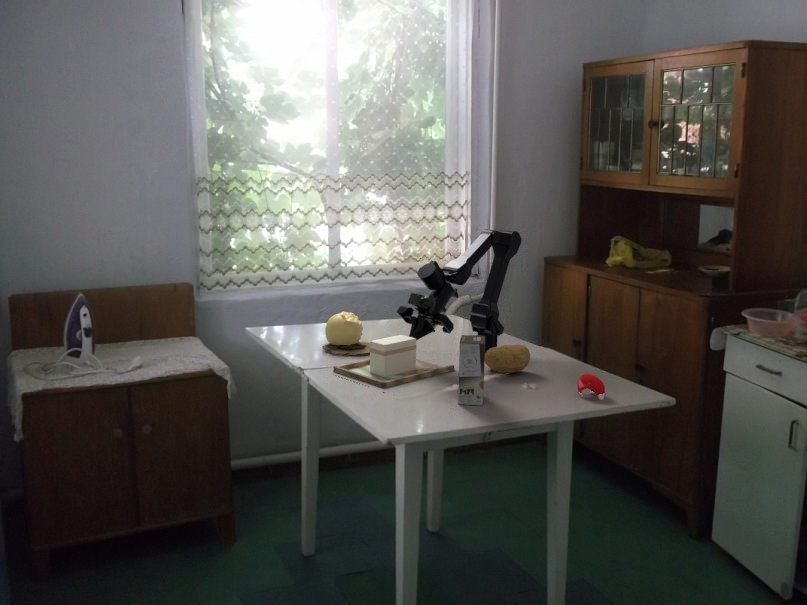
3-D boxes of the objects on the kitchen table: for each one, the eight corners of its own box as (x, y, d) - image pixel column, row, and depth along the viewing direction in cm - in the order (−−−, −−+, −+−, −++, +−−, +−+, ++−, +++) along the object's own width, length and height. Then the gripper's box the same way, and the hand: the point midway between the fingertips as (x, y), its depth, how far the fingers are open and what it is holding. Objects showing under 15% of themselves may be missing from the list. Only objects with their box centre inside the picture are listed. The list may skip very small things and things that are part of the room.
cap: (569, 384, 219) (585, 377, 214) (580, 372, 222) (596, 365, 218) (587, 408, 219) (603, 402, 214) (597, 396, 223) (613, 390, 218)
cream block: (401, 364, 242) (401, 334, 240) (415, 369, 238) (416, 338, 236) (369, 372, 234) (369, 341, 232) (384, 377, 230) (384, 345, 228)
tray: (403, 359, 253) (403, 351, 253) (454, 373, 238) (454, 365, 238) (333, 375, 235) (333, 366, 234) (383, 392, 220) (383, 383, 219)
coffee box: (483, 406, 210) (485, 343, 207) (457, 404, 210) (459, 342, 207) (483, 395, 219) (485, 335, 216) (459, 394, 219) (460, 334, 216)
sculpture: (363, 348, 265) (363, 315, 263) (324, 349, 264) (324, 315, 262) (362, 340, 276) (362, 308, 274) (325, 340, 275) (325, 308, 273)
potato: (476, 370, 242) (477, 343, 241) (520, 366, 247) (521, 340, 245) (491, 379, 233) (492, 351, 232) (536, 375, 238) (537, 348, 236)
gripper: (402, 278, 246) (373, 319, 240) (448, 287, 233) (418, 331, 227) (420, 301, 253) (393, 342, 247) (466, 311, 239) (438, 354, 234)
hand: (409, 342), depth 239 cm, fingers closed
